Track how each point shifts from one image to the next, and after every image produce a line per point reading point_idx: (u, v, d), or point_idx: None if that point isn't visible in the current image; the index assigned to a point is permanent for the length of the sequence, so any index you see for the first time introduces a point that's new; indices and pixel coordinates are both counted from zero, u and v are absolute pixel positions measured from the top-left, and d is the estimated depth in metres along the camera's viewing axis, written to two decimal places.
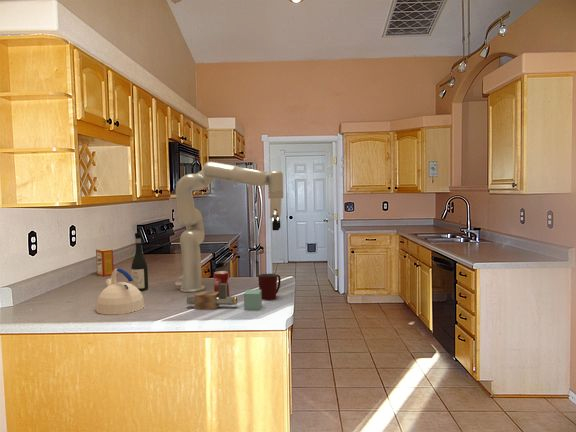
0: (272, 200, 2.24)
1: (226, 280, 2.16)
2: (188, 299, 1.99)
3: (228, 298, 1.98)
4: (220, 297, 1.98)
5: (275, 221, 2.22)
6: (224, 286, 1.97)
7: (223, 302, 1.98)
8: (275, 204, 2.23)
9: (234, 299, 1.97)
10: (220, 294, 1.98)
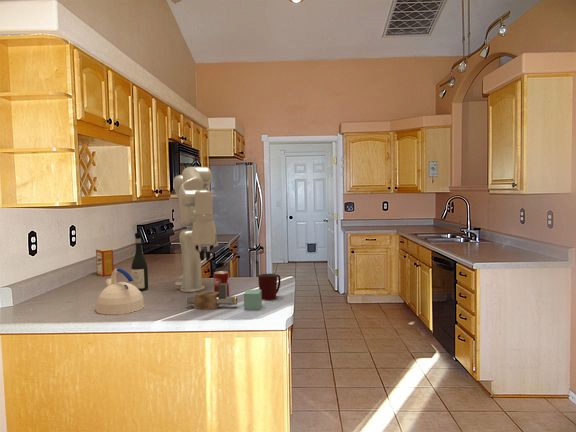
0: (213, 223, 1.96)
1: (226, 280, 2.16)
2: (188, 299, 1.99)
3: (228, 298, 1.98)
4: (220, 297, 1.98)
5: None
6: (224, 286, 1.97)
7: (223, 302, 1.98)
8: (215, 228, 1.97)
9: (234, 299, 1.97)
10: (220, 294, 1.98)
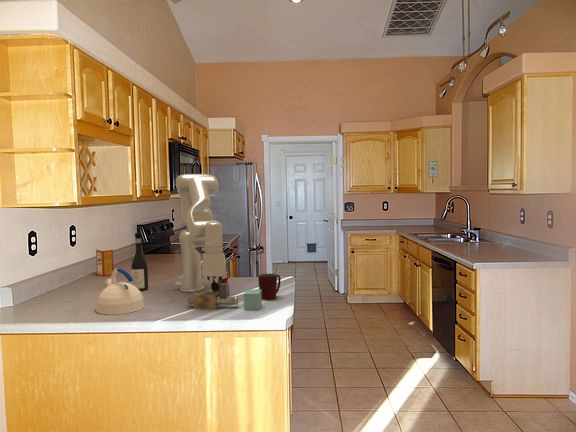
0: (223, 255, 1.96)
1: (226, 280, 2.16)
2: (189, 299, 1.99)
3: (229, 298, 1.98)
4: (221, 297, 1.98)
5: None
6: (225, 286, 1.97)
7: (224, 302, 1.98)
8: None
9: (234, 299, 1.97)
10: (221, 294, 1.98)
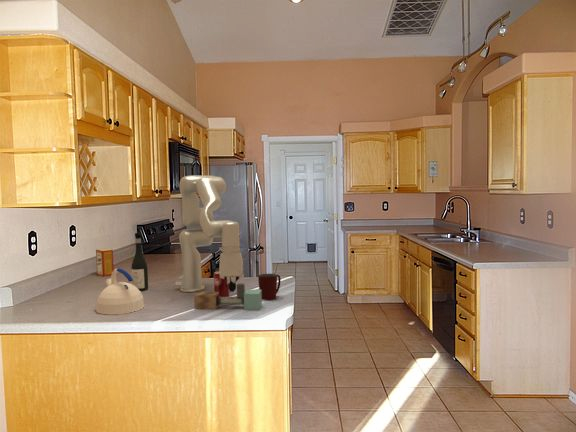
0: (240, 255, 1.96)
1: None
2: None
3: None
4: (238, 297, 1.97)
5: None
6: (242, 286, 1.97)
7: (241, 302, 1.97)
8: (242, 259, 1.97)
9: None
10: (238, 294, 1.97)
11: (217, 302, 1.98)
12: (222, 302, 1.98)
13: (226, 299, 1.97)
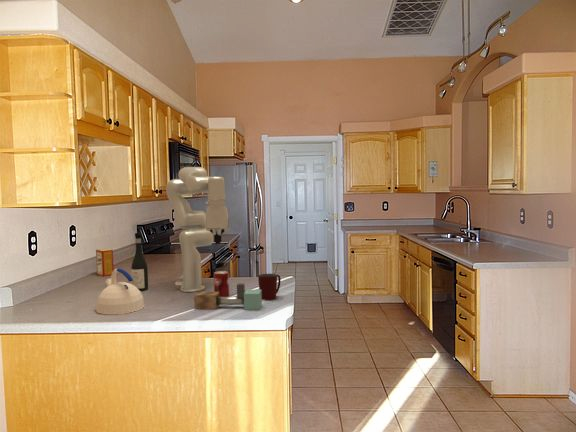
0: (226, 208, 2.05)
1: (226, 280, 2.16)
2: None
3: None
4: (238, 297, 1.97)
5: (221, 233, 2.07)
6: (242, 286, 1.97)
7: (241, 302, 1.97)
8: (227, 212, 2.07)
9: None
10: (238, 294, 1.97)
11: (217, 302, 1.98)
12: (222, 302, 1.98)
13: (226, 299, 1.97)
